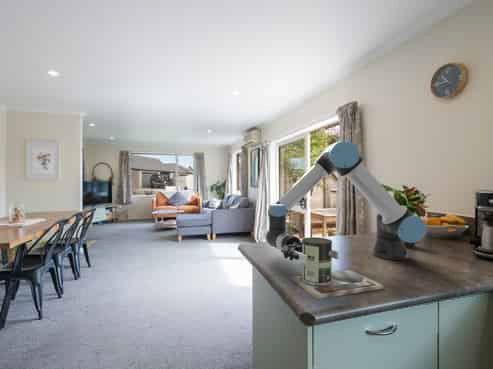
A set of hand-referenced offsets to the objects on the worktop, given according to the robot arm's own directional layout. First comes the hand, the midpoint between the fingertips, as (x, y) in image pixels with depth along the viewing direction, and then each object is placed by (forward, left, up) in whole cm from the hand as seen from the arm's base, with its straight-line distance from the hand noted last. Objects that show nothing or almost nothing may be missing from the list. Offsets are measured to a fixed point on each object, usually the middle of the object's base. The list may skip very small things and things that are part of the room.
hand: (322, 257), depth 89 cm
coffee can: (+2, -3, -9) cm, 10 cm away
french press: (-57, -67, -10) cm, 88 cm away
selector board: (-5, -4, -10) cm, 12 cm away
